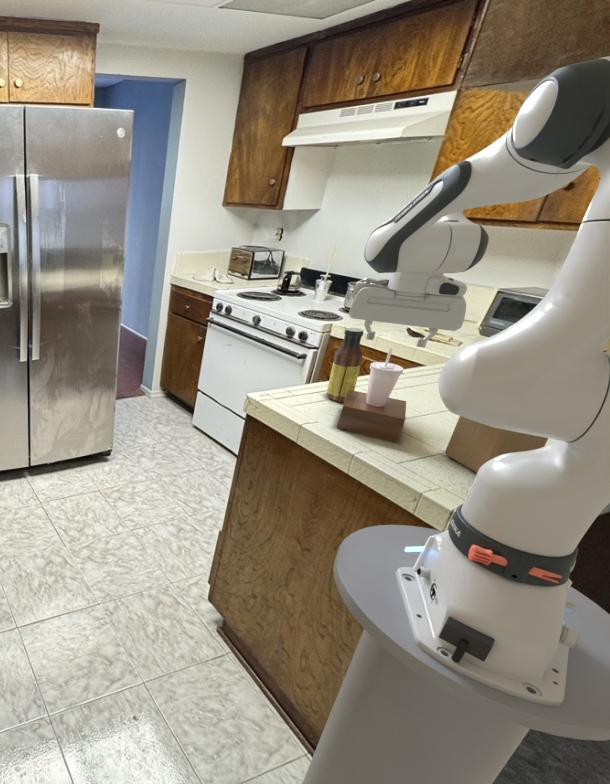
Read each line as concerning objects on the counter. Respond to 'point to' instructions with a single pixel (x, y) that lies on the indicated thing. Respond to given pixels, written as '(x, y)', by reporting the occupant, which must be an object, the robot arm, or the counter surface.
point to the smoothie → (382, 381)
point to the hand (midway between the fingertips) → (394, 342)
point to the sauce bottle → (345, 366)
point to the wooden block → (487, 443)
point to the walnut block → (372, 416)
